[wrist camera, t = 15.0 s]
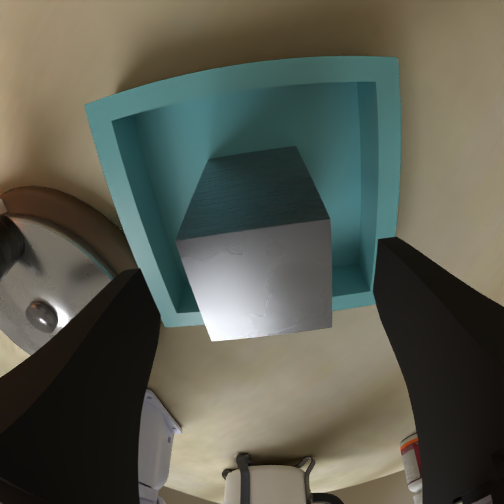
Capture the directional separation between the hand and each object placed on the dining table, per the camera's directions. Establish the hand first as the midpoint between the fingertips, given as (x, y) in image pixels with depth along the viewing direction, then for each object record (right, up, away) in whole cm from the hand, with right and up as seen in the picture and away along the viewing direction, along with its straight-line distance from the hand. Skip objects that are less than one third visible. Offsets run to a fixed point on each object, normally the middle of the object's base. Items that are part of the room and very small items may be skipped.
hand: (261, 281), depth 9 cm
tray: (0, +4, +6) cm, 7 cm away
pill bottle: (+25, -27, +27) cm, 46 cm away
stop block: (0, +4, +5) cm, 7 cm away
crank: (-14, -3, +8) cm, 17 cm away
